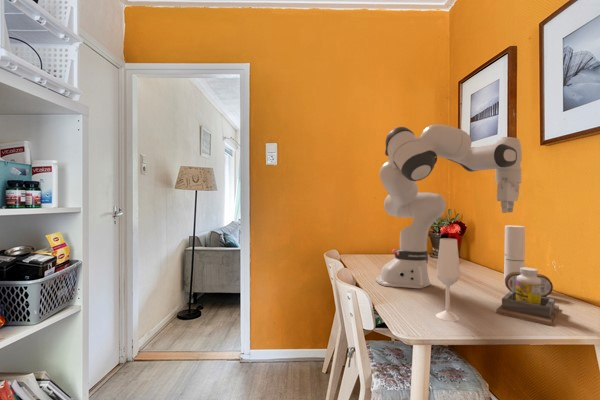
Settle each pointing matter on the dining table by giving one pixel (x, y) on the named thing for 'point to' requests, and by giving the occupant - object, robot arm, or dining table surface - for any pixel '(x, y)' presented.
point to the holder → (529, 309)
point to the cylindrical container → (514, 249)
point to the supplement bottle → (528, 286)
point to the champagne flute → (448, 272)
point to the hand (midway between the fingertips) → (507, 212)
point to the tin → (545, 281)
